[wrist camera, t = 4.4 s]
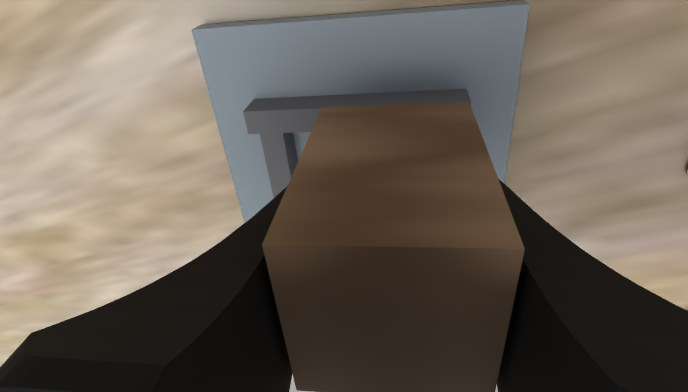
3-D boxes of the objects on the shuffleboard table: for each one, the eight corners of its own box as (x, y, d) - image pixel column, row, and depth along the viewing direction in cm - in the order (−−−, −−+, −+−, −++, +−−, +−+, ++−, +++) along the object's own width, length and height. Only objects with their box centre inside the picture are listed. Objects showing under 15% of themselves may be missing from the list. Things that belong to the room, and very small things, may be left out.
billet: (469, 102, 11) (524, 248, 6) (458, 222, 13) (492, 403, 8) (322, 106, 12) (261, 244, 7) (334, 221, 14) (296, 390, 9)
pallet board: (523, -1, 16) (541, 11, 14) (486, 272, 23) (495, 306, 21) (201, 24, 18) (174, 38, 16) (265, 268, 25) (252, 299, 23)
